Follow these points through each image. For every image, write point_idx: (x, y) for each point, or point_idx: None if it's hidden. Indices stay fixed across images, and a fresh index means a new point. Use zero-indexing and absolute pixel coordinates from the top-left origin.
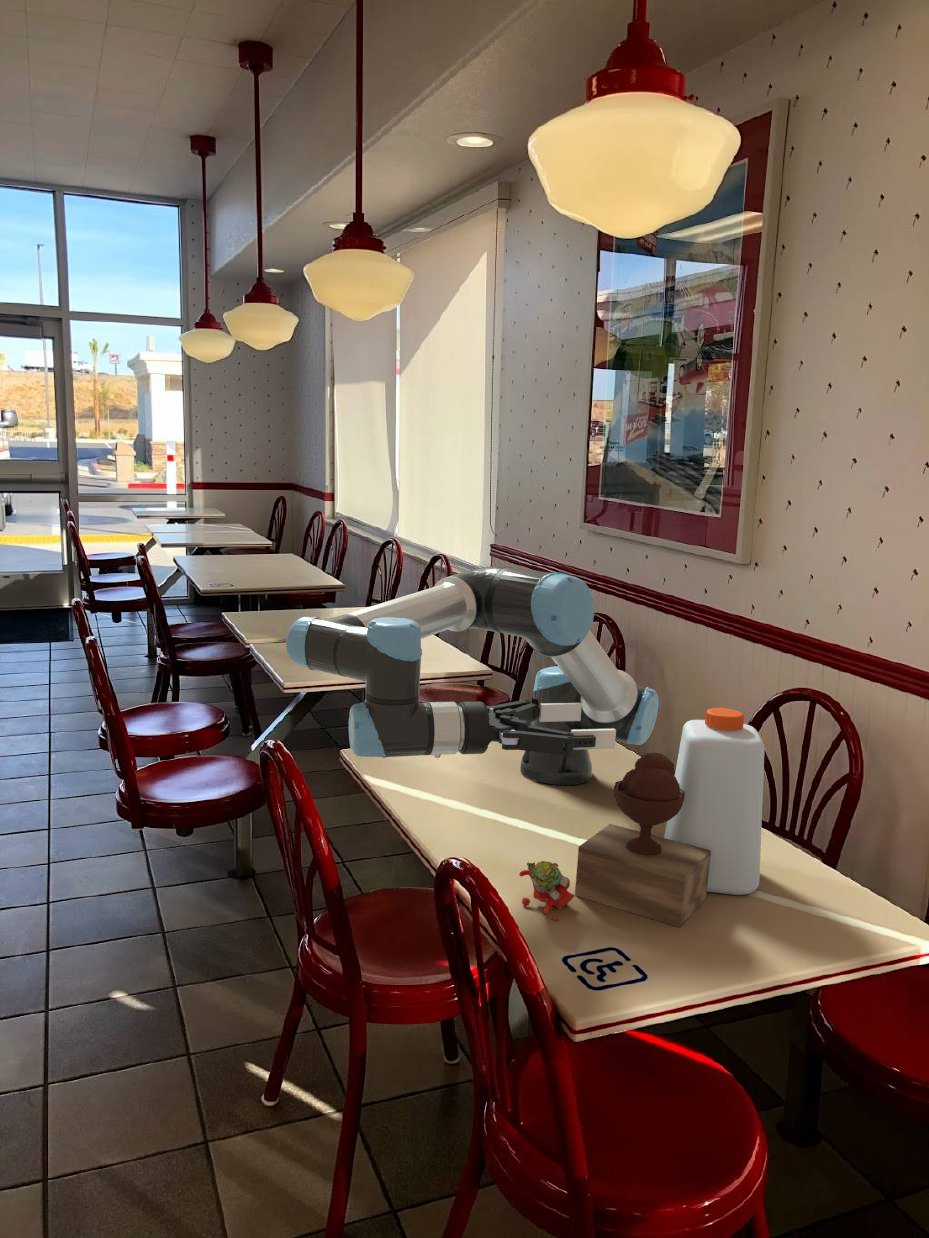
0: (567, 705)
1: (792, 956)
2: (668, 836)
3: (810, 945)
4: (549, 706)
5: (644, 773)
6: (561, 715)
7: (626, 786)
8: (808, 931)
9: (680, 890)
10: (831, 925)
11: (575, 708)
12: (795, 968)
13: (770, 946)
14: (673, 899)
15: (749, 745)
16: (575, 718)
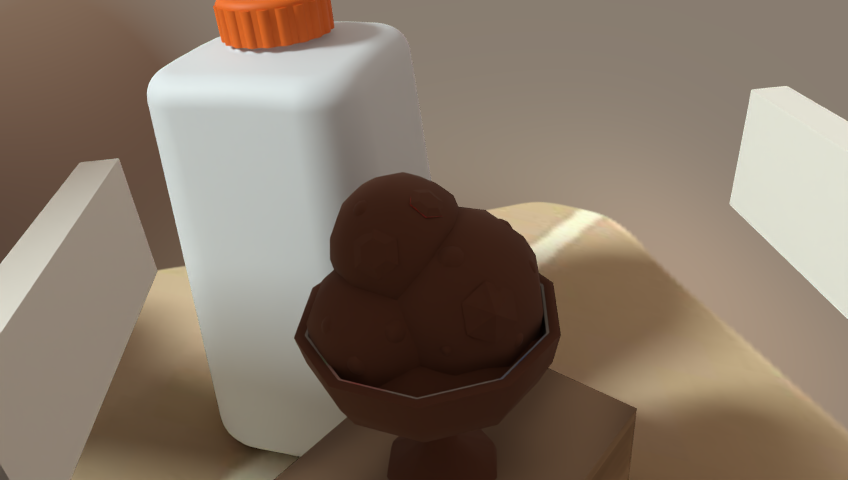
0: (85, 224)
1: (698, 348)
2: (315, 390)
3: (643, 315)
4: (16, 341)
5: (480, 261)
6: (99, 330)
7: (403, 361)
8: (588, 305)
9: (629, 444)
10: (558, 275)
11: (115, 212)
12: (748, 355)
13: (667, 368)
14: (618, 477)
15: (402, 39)
16: (142, 277)
